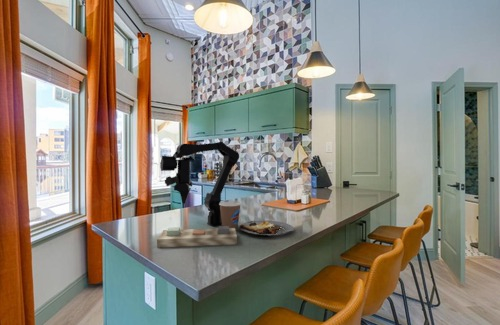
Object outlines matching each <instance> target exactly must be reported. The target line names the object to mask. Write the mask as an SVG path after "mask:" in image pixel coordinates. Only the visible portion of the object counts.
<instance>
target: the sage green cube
mask: <svg viewBox="0 0 500 325" xmlns="http://www.w3.org/2000/svg"><path fill="white" fill-rule="evenodd" d="M166 230H167V236H179V235H180V230H181V227H179V226H178V227H168V228H167V229H166Z"/></svg>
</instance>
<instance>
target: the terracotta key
mask: <svg viewBox="0 0 500 325" xmlns="http://www.w3.org/2000/svg"><path fill="white" fill-rule="evenodd" d="M193 235H205V230H194V231H193Z"/></svg>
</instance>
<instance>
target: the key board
mask: <svg viewBox="0 0 500 325" xmlns="http://www.w3.org/2000/svg"><path fill="white" fill-rule="evenodd" d="M167 230H168V229H163V230H162V231H161V233H160V235H159V236H158V237H157V238H156V247H157V248H171V247H173V248H174V247H176V248H177V247H199V246H223V245H225V246H227V245H228V246H229V245H237V244H238V235H237V231H236V230H235V228H229V234H218V228H195V229H192V228H191V229H189V228H188V229H180V235H179V236H167ZM194 230H205V235H193V231H194Z"/></svg>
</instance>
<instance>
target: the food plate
mask: <svg viewBox="0 0 500 325" xmlns="http://www.w3.org/2000/svg"><path fill="white" fill-rule="evenodd" d="M273 226H275V227H273ZM270 227H271V228H270ZM280 227H282V228H284V229H285V232H284V231H283V232H281V233H279V231H280V230H279V229H282V228H280ZM238 228H239V230H240V231H242V232H245V233H247V234H251V235H257V236H267V237H270V236H275V237H278V236H279V235H280V236H283V235H285V234H288V233H289V232H294V230H295V227H293V225H292V224H289V223H287V222H282V221H280V220H279V221H278V220H264V219H263V220H251V221H247V222H244V223H241V224H240V225H239V226H238ZM268 228H269V229H268ZM276 230H278V231H276ZM276 233H278V234H276ZM280 236H279V237H280Z"/></svg>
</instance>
